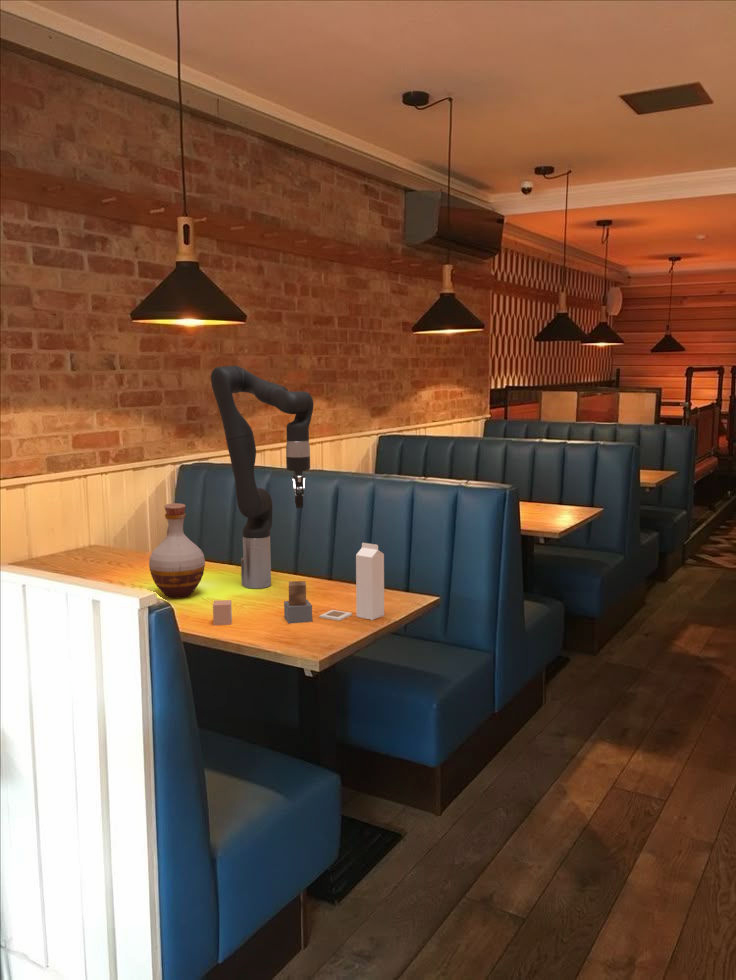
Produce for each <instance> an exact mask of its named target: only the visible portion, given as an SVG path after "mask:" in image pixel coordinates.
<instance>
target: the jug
mask: <svg viewBox="0 0 736 980" xmlns="http://www.w3.org/2000/svg"><path fill="white" fill-rule="evenodd" d="M163 507H164V509H165V510H164V511H165V514H164V517H165V519H166V521H167V529H166V536H165V538H164V539H163V541H161V543H159V545H157V546H156V547H155V549H154V550H153V551H152V552H151V554H150V557H149V561H148V565H149V572H150V575H151V579H152V580H153V582H154V584H155V585H156V587H157V588H158V589H159V590H160V592H162V594H163V595H164V596H165V597H166V598H170V599H182V598H188V597H190V596H191V595H192V594H193V592H194V591H195V590H196V589H197V587H198V586H199V584H200V582H201V581H202V578H203V575H204V571H205V566H206V559H205V554H204V552H203V551H202V549H201V548H199V546H198V545H197V544H196V543H194V542H193V541H191V539H189V538H188V536H186V535H185V533H184V522H185V521H184V520H185V518H186V515H187V513H185V511H186V507H187V506H186V504H184V503H179V502H174V503H167V504H164V506H163Z"/></svg>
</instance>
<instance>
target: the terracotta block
mask: <svg viewBox="0 0 736 980" xmlns="http://www.w3.org/2000/svg"><path fill="white" fill-rule="evenodd" d="M232 607H233V606H232V599H227V600H225V599H223V600H221V599H220V600H213V604H212V612H213V613H212V615H213V618H212V619H213V626H227V625H229V626H230V625H232V620H233V614H232V611H233V610H232Z"/></svg>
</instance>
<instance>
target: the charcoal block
mask: <svg viewBox="0 0 736 980" xmlns="http://www.w3.org/2000/svg"><path fill="white" fill-rule="evenodd" d="M283 608H284V609H283V611H284V614H283V616H284V619H285V621H286V622H287V624H288V625H289V624H290V625H291V624H303V623H310V622H311V623H312V622H313V605H312V603H311V602H310V601H309V600H308V599H307V598H306V605H301V606H289V600H284V601H283Z"/></svg>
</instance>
